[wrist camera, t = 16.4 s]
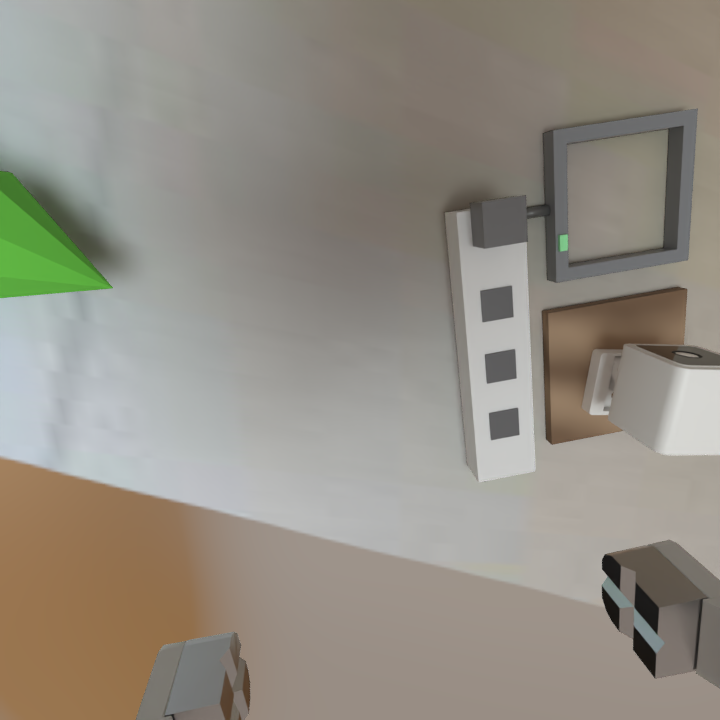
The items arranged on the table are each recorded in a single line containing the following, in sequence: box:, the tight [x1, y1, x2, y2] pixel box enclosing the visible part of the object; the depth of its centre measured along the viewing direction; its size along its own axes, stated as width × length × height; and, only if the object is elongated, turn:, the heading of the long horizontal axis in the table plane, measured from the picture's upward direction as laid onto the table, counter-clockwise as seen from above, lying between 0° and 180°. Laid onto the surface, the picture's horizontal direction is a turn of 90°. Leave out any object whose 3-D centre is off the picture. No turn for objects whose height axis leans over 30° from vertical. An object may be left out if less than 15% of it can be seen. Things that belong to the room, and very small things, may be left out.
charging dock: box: [543, 109, 698, 283], centre depth 37 cm, size 11×11×2 cm
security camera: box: [582, 344, 720, 455], centre depth 36 cm, size 6×7×10 cm
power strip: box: [445, 195, 550, 482], centre depth 38 cm, size 22×9×5 cm, turn 8°
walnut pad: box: [542, 287, 687, 444], centre depth 42 cm, size 12×12×1 cm
